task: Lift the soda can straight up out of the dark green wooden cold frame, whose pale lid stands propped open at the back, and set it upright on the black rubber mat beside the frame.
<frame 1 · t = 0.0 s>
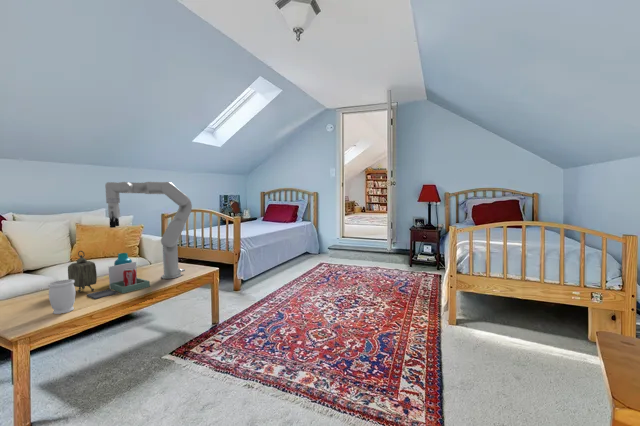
hand: (114, 226, 210), 37 cm above the table, tool pointing down, fingers open, 9 cm apart
tabletop clock: (83, 291, 193), on the table
cold frame: (130, 287, 199), on the table
soda can: (130, 288, 199), resting in cold frame
vase: (124, 281, 213), on the table
jar: (63, 311, 160), on the table
mat: (102, 294, 186), on the table
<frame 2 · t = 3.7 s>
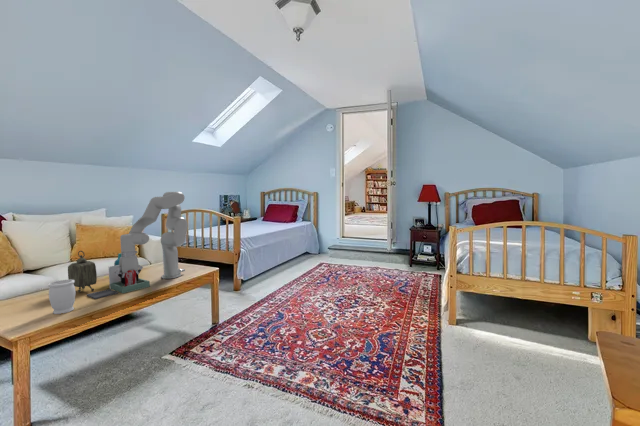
hand: (130, 281, 198), 4 cm above the table, tool pointing down, fingers closed on soda can, 7 cm apart
soda can: (130, 288, 199), resting in cold frame, touching gripper
everything else where it was.
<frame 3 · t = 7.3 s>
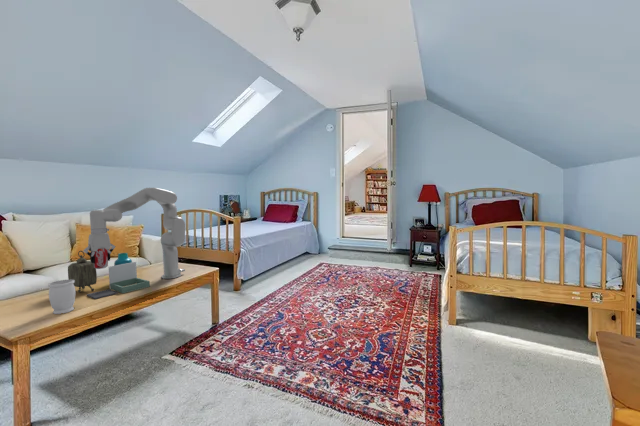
hand: (100, 261, 185), 20 cm above the table, tool pointing down, fingers closed on soda can, 7 cm apart
soda can: (101, 268, 185), point 16 cm above the table, touching gripper
everything else where it was.
when the fingers open (6 cm above the table, at t = 10.8 s): soda can drops 1 cm, resting on mat.
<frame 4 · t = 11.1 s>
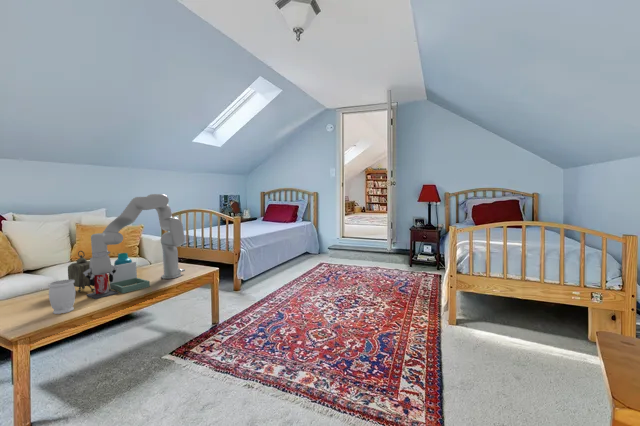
hand: (101, 283, 185), 7 cm above the table, tool pointing down, fingers open, 9 cm apart
soda can: (102, 293, 186), point 1 cm above the table, touching mat
everything else where it was.
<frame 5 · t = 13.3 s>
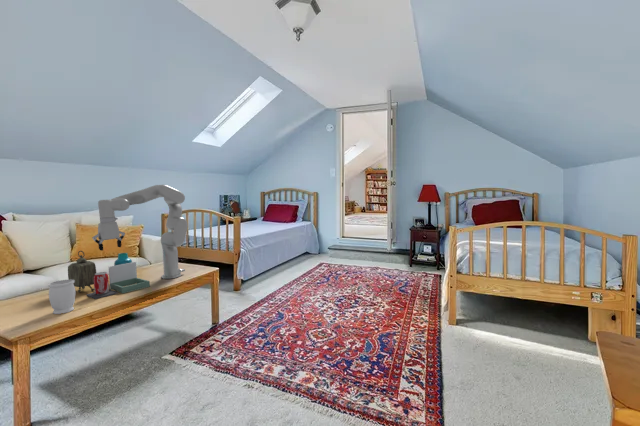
hand: (110, 248, 190), 26 cm above the table, tool pointing down, fingers open, 9 cm apart
nothing on the table moved.
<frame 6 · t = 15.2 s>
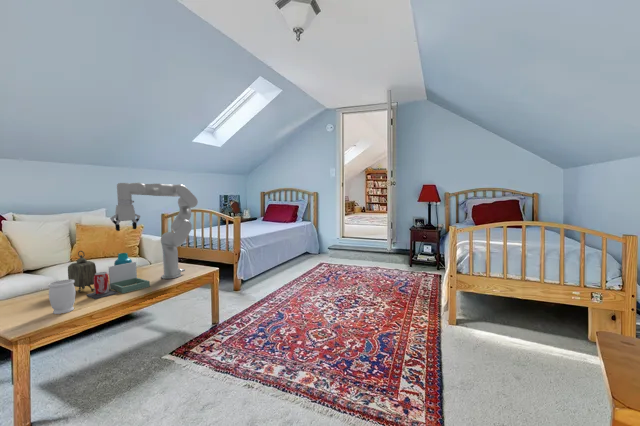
hand: (126, 229, 199), 36 cm above the table, tool pointing down, fingers open, 9 cm apart
nothing on the table moved.
at the end: soda can inside the target area on the mat (0.2 cm from its centre), point 0.6 cm above the mat's base; soda can tilted 0°; the gripper is holding nothing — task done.
